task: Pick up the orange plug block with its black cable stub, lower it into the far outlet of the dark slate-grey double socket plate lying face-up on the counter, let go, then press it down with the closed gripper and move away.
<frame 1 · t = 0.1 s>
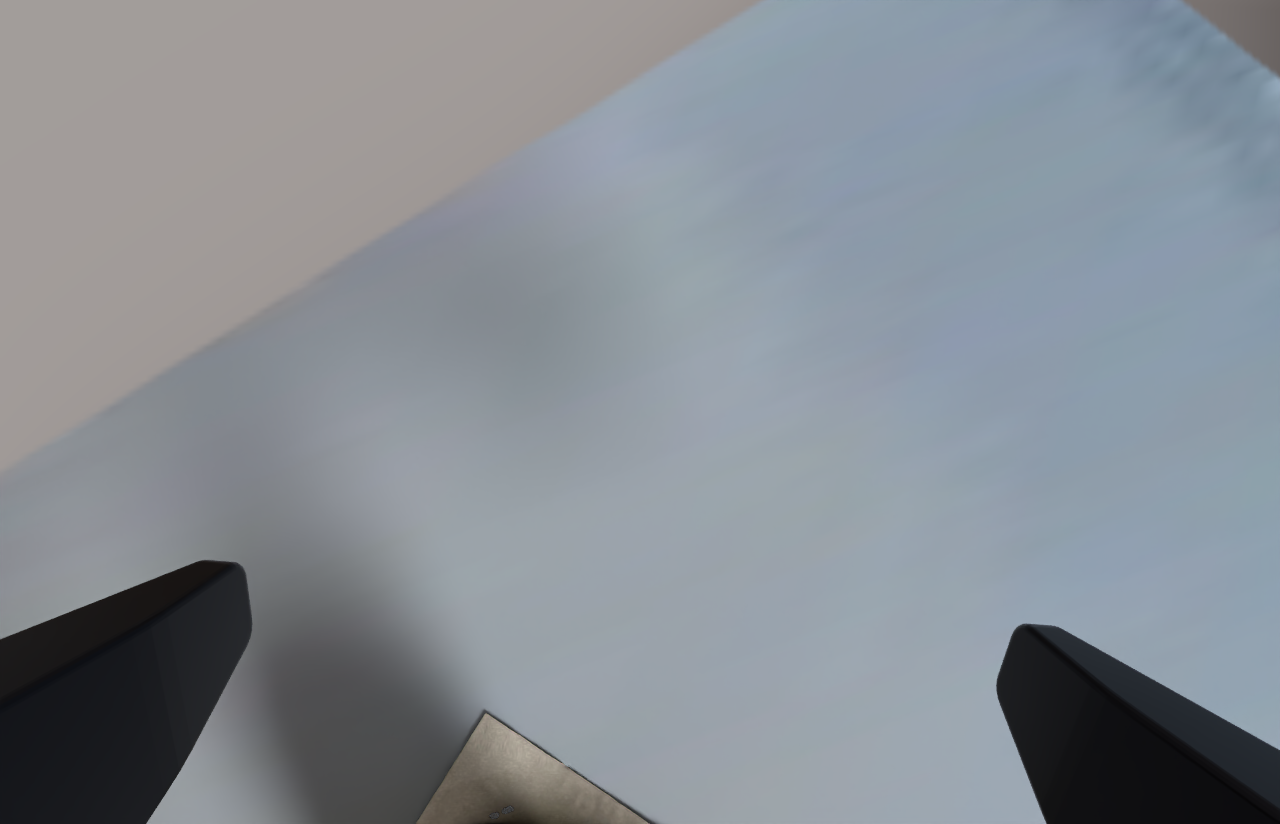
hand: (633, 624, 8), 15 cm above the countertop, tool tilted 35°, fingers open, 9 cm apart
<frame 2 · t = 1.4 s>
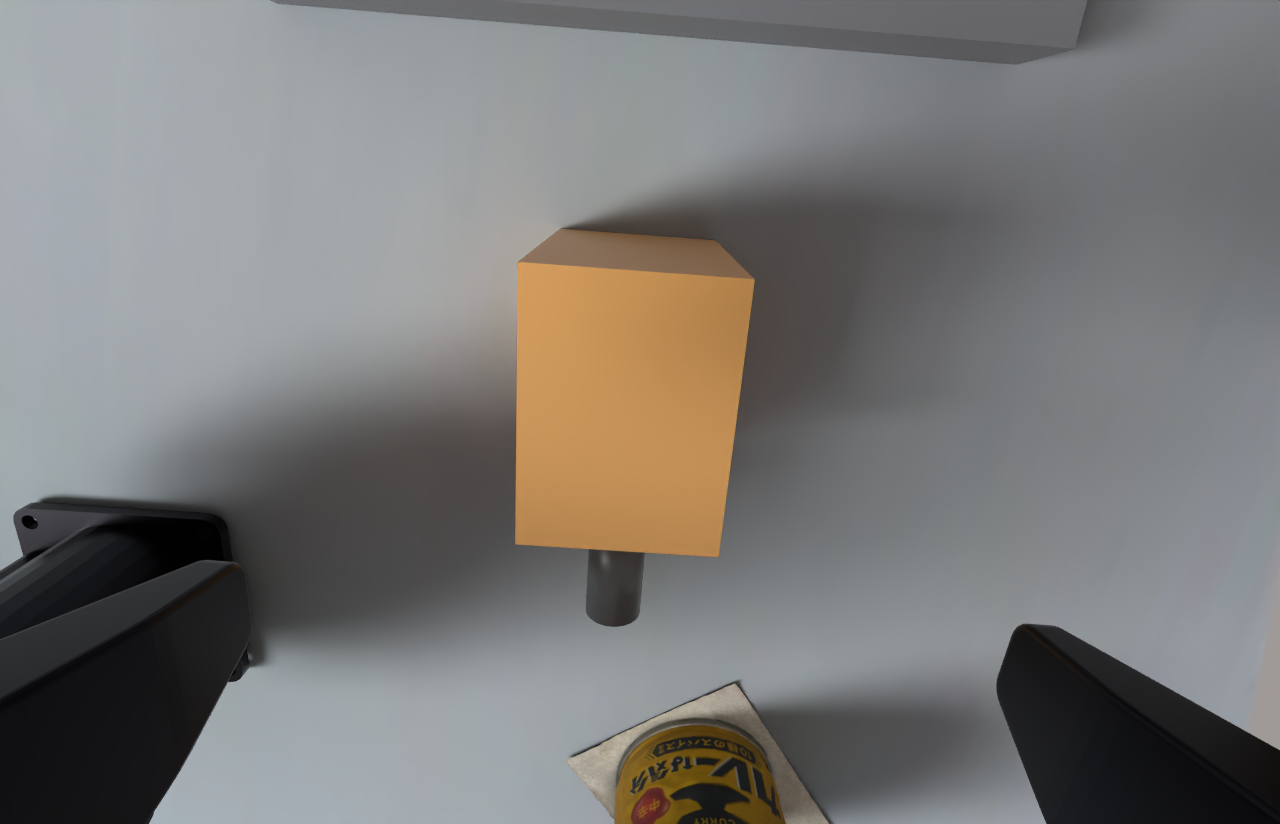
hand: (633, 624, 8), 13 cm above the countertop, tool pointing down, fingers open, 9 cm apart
condiment: (701, 786, 26), on the countertop
plug: (630, 337, 20), on the countertop
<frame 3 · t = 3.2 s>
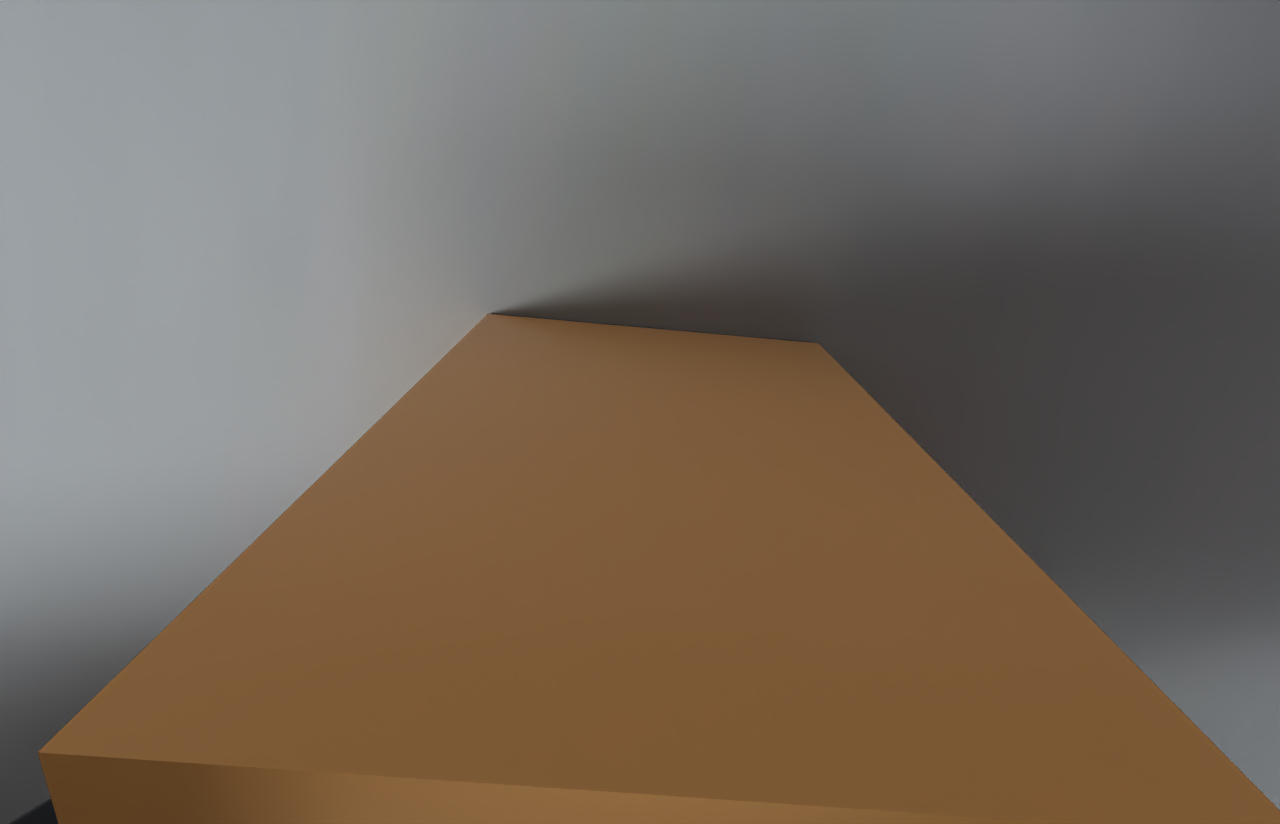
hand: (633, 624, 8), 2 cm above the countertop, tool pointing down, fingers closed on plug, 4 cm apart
plug: (634, 526, 10), on the countertop, touching gripper
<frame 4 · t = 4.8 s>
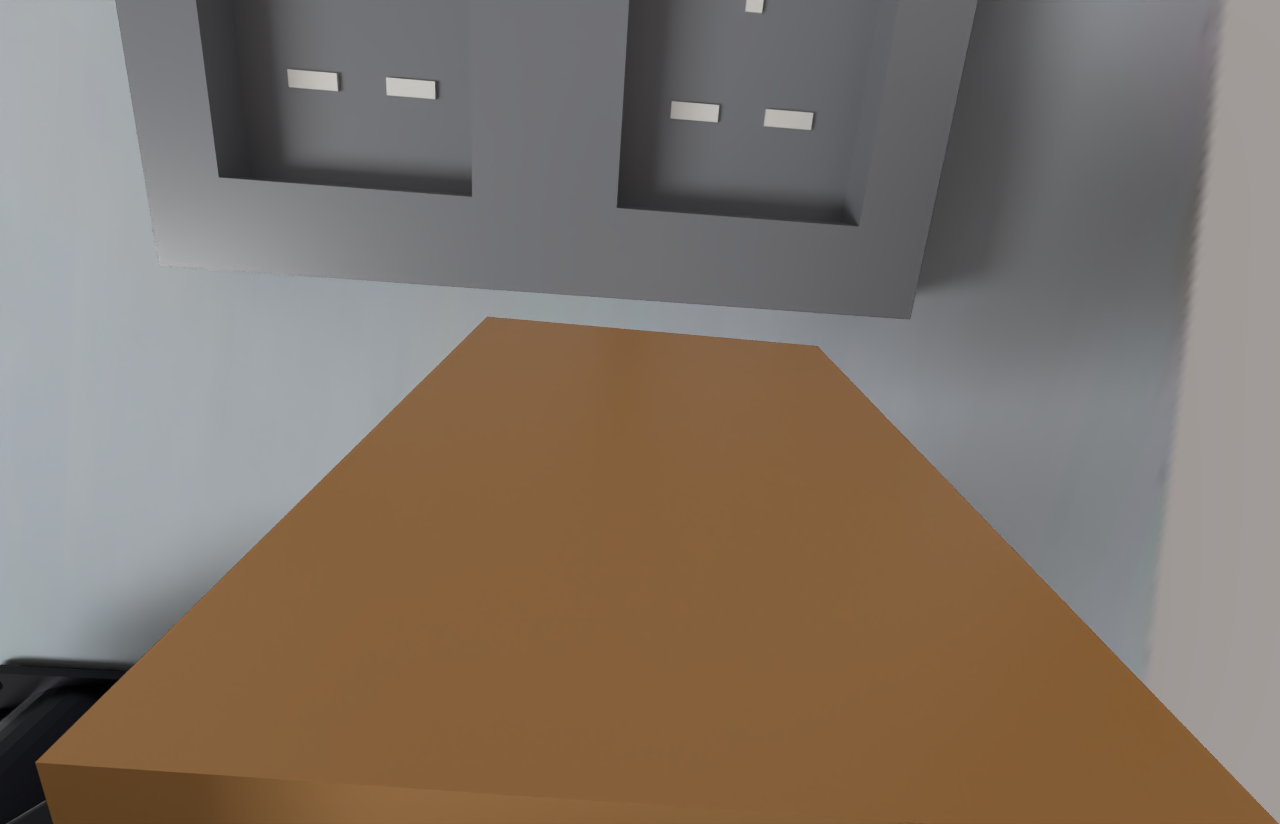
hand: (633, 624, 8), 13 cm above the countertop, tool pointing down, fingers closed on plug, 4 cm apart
socket plate: (560, 45, 17), on the countertop
plug: (633, 529, 10), point 11 cm above the countertop, touching gripper
when the fingers open (4 cm above the countertop, at t = 6.9 s): plug stays where it is, resting on socket plate.
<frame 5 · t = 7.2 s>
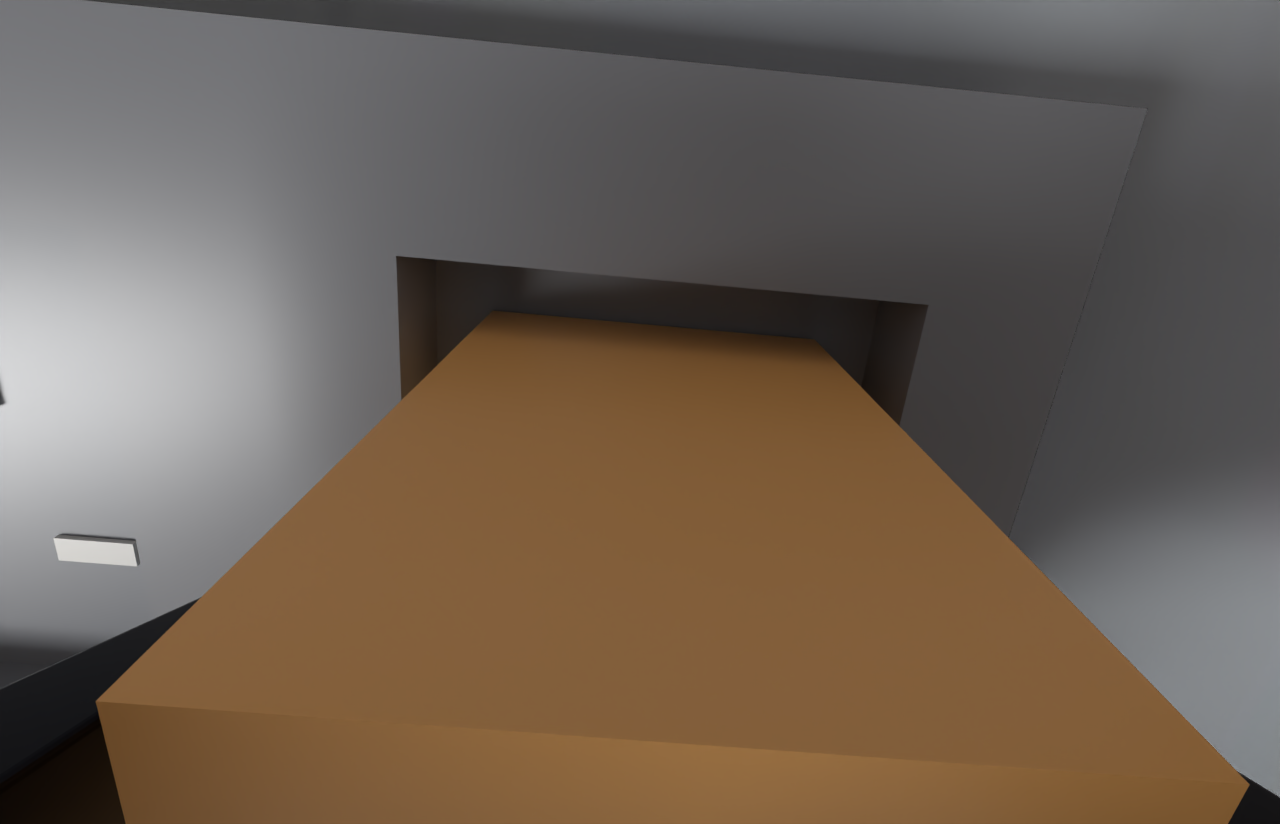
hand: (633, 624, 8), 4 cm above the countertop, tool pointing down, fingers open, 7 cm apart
socket plate: (349, 460, 11), on the countertop
plug: (635, 518, 10), point 1 cm above the countertop, touching socket plate
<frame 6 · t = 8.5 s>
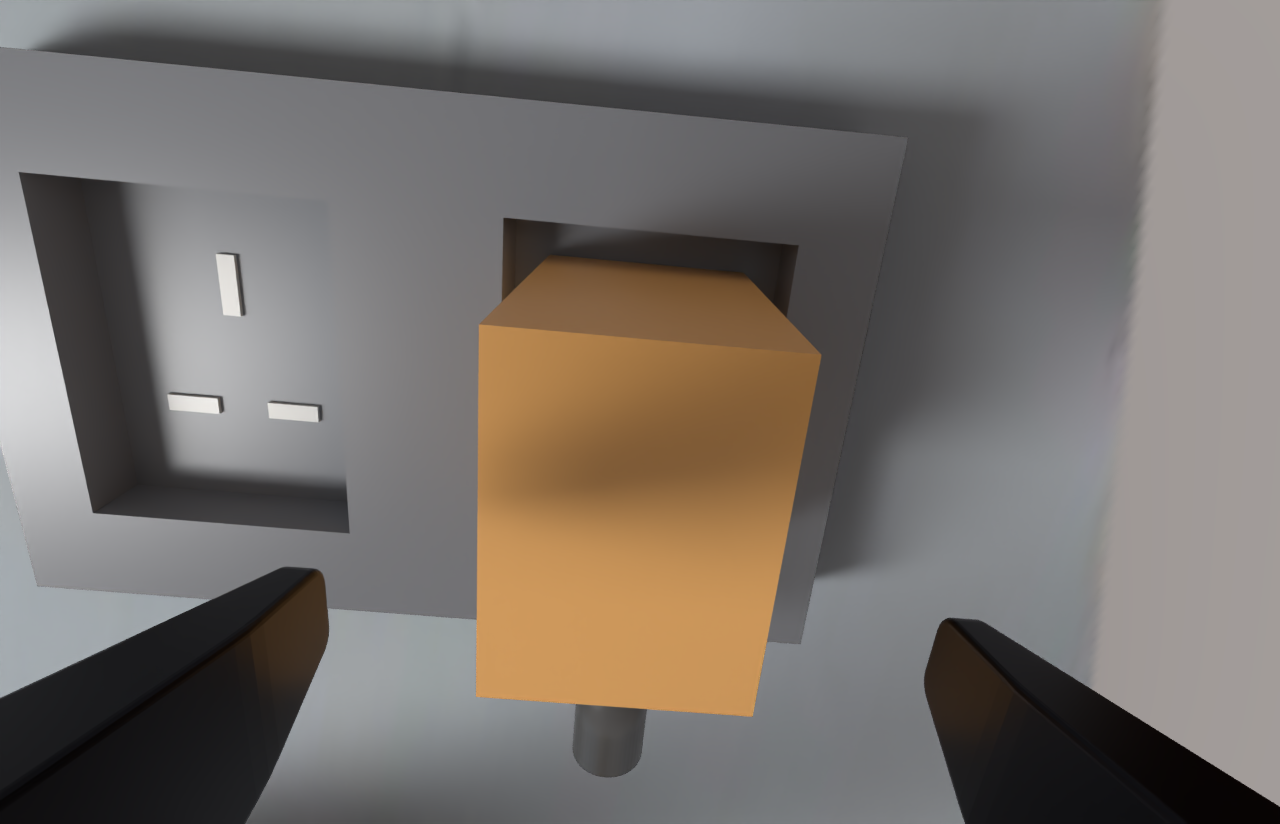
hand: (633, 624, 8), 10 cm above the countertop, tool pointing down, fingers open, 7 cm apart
socket plate: (450, 358, 17), on the countertop
plug: (635, 389, 16), point 1 cm above the countertop, touching socket plate
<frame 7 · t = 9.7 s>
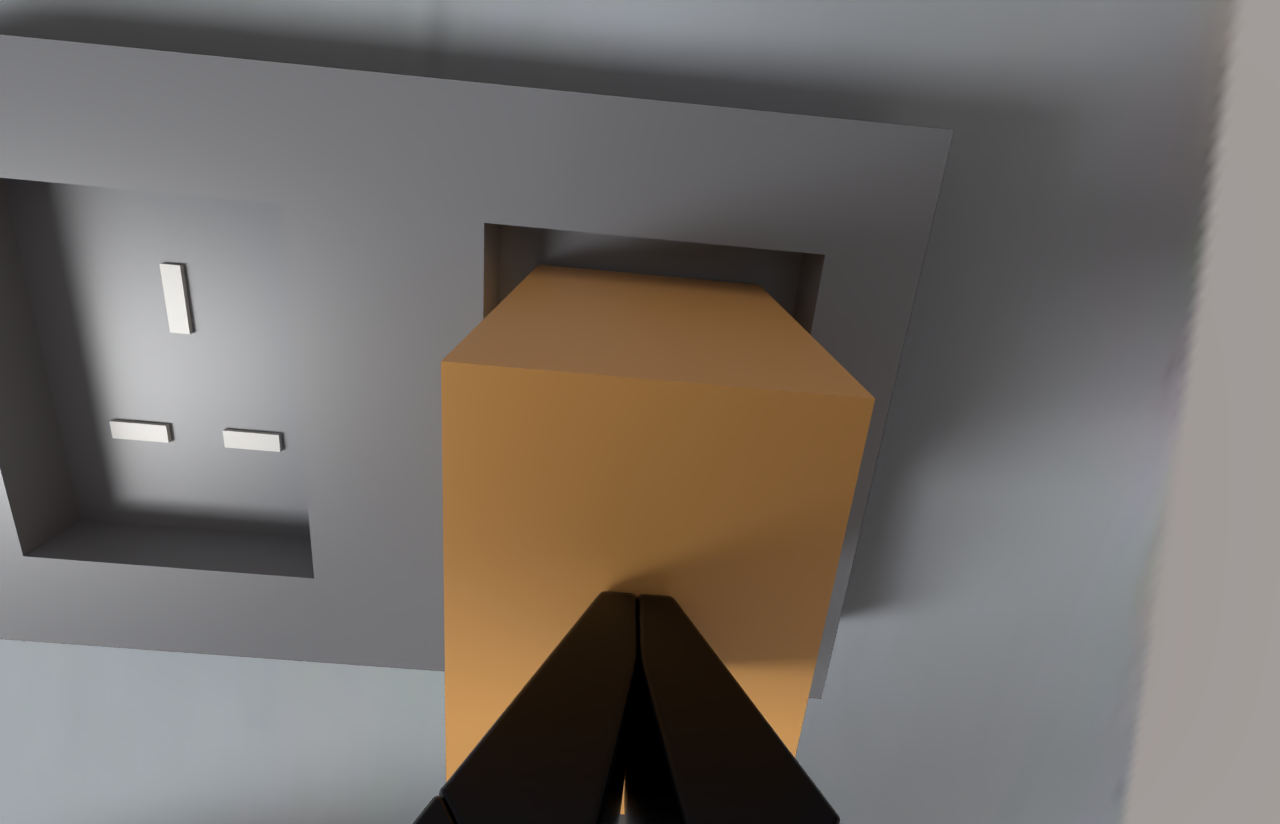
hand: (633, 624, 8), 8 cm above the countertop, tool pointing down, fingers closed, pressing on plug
socket plate: (429, 379, 15), on the countertop
plug: (636, 415, 14), point 1 cm above the countertop, touching gripper, socket plate
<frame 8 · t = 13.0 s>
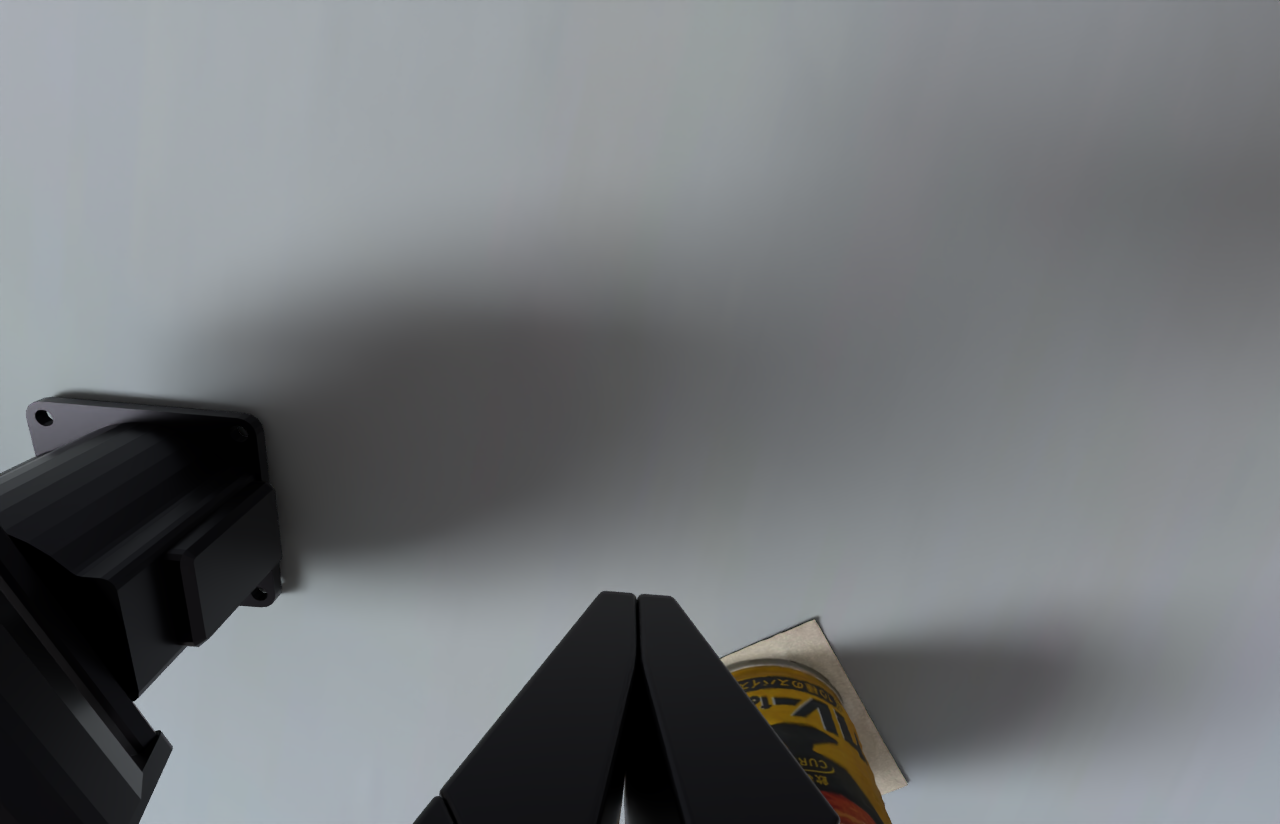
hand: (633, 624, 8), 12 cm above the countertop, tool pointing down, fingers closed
condiment: (767, 736, 24), on the countertop
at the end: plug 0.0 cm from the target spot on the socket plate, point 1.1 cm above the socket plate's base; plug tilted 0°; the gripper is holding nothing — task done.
